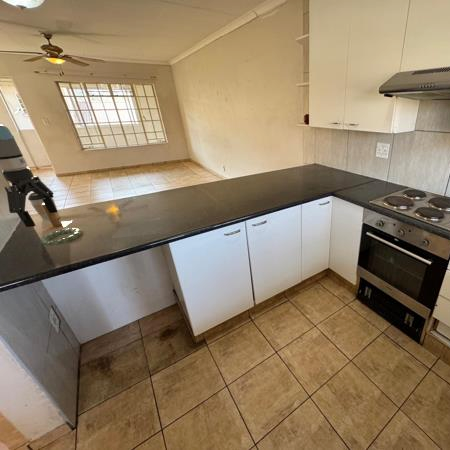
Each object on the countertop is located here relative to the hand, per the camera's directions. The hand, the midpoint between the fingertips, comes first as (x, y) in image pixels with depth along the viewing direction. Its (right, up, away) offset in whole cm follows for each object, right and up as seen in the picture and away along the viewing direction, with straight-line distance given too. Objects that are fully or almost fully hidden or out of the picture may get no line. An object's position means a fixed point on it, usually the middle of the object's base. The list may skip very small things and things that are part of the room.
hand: (43, 219), depth 103 cm
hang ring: (-1, -8, +10) cm, 13 cm away
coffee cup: (-28, +1, +31) cm, 42 cm away
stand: (-14, -4, +21) cm, 26 cm away
